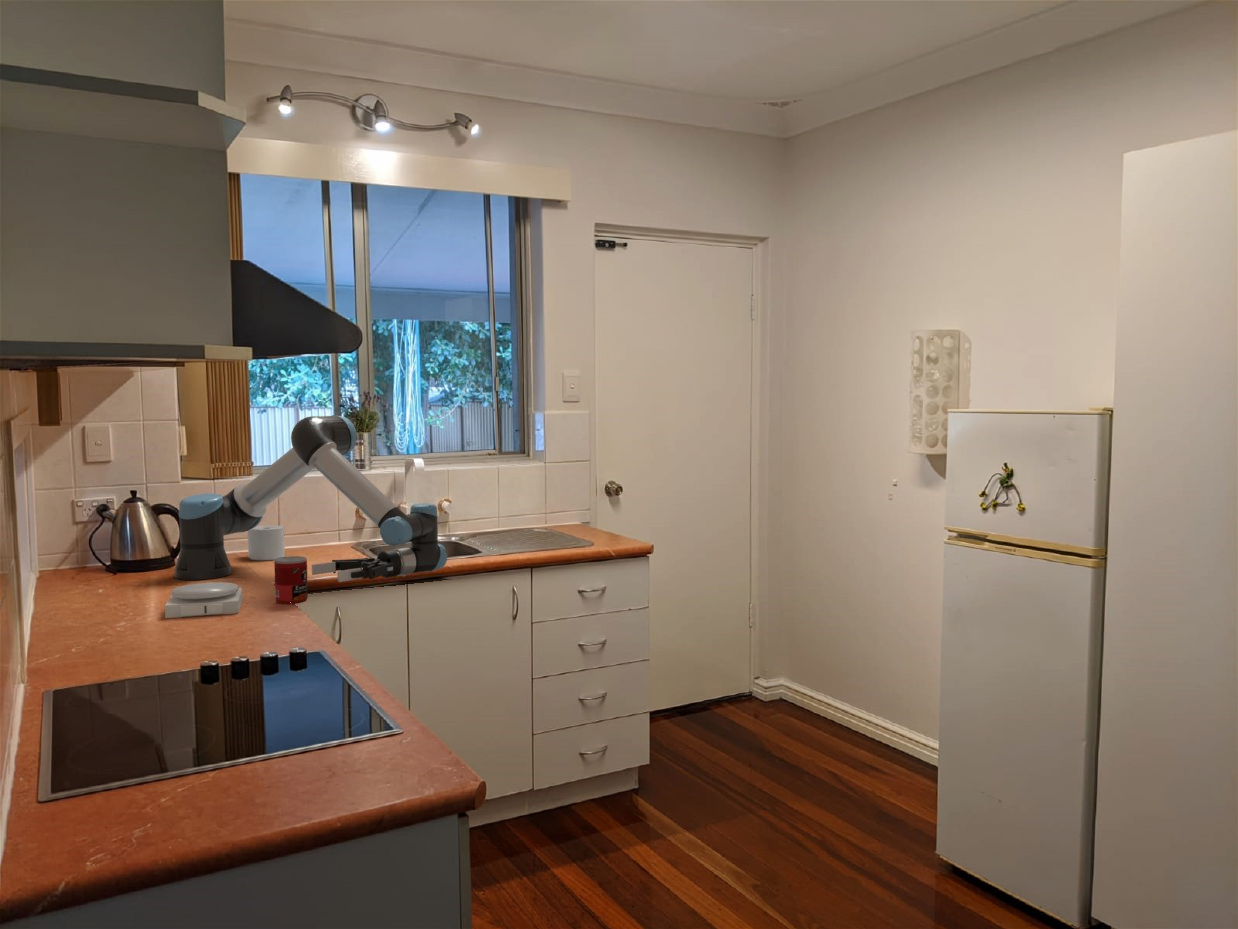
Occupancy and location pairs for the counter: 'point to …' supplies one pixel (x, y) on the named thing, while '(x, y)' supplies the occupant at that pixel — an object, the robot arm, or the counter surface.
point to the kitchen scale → (204, 600)
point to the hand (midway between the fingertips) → (324, 573)
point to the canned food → (291, 579)
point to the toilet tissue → (266, 542)
